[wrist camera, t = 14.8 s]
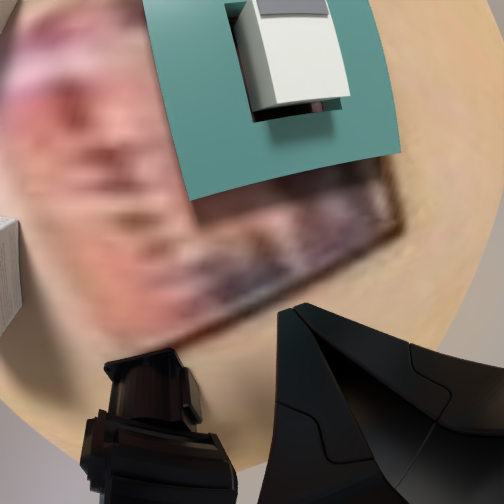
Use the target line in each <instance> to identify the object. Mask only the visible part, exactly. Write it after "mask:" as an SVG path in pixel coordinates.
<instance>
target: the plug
mask: <svg viewBox="0 0 504 504" xmlns="http://www.w3.org/2000/svg"><path fill="white" fill-rule="evenodd" d="M233 30H234V34H235V38H236V42H237V46H238V51H239V55H240V59H241V63H242V68H243V72H244V76H245V81H246V85H247V90H248V94H249V98H250V103H251V107H252V112H255V111H261V110H266V109H273V108H279V107H286V106H293V105H300V104H309V103H315V102H319V101H325V100H330V99H335V98H341V97H347V96H350V91H349V86H348V81H347V77H346V72H345V68H344V63H343V59H342V55H341V51H340V47H339V43H338V39H337V35H336V31H335V28H334V24H333V21H332V17H331V14H330V11H329V8H328V4H327V1H326V0H248V1H247V3H246V4H245V6H244V8H243V10H242V12H241V13H240V15H239V17H238V19H237V21H236V23H235V25H234V27H233Z"/></svg>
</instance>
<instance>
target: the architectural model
mask: <svg viewBox="0 0 504 504" xmlns="http://www.w3.org/2000/svg"><path fill="white" fill-rule="evenodd" d="M17 1H18V0H0V35H1V33H2V31H3V29H4V26H5V24H6V22H7V20H8V18H9V16H10V14H11V12H12V11H13V9H14V7H15V5H16V3H17Z"/></svg>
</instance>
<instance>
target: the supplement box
mask: <svg viewBox="0 0 504 504" xmlns="http://www.w3.org/2000/svg"><path fill="white" fill-rule="evenodd" d="M21 307H22V296H21V285H20V271H19V245H18V220H17V219H12V218H5V217H0V337H1V336H2V334H3V333H4V331H5V330H6V328H7V327H8V325H9V324H10V322H11V321H12V320H13V318H14V317H15V315H16V314H17V313H18V311H19V310H20V308H21Z"/></svg>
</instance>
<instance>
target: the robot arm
mask: <svg viewBox="0 0 504 504" xmlns="http://www.w3.org/2000/svg"><path fill="white" fill-rule="evenodd" d="M167 354H172V355H167ZM110 368H111V369H110ZM104 371H105V372H106V374H107V375H108V377H109V378H110V379H111V381H112V388H111V395H110V401H109V408H108V413H107V411H104V410H101V409H99V413H98V417H95V418H93V419H88V420H87V423H86V429H85V435H84V441H83V447H82V452H81V458H80V466H81V468H82V469H83V470H84V471H85V473H86V474H87V480H89V481H90V491H93V492H97V493H100V504H236V499H237V495H238V481H237V476H236V472H235V469H234V467H233V465H232V463H231V461H230V460H229V458H228V456H227V454H226V452H225V450H224V448H223V446H222V444H221V442H220V440H219V438H218V436H217V434H213V433H208V434H205V433H198V432H197V426H196V424H201V422H202V414H201V407H200V400H199V393H198V386H197V384H196V382H195V380H194V379H193V377H192V375H191V373H190V371H189V369H188V368H186V367H183V365H182V363H181V362H180V360H179V358H178V356H177V354H176V352H175V350H174V349H172V348H166V349H162V350H158V351H154V352H150V353H146V354H142V355H137V356H133V357H129V358H125V359H120V360H116V361H111V362H107V363H105V364H104ZM275 403H276V404H275V415H274V427H273V437H272V443H271V448H270V454H269V459H268V464H267V467H266V471H265V475H264V480H263V483H262V488H261V491H260V495H259V499H258V503H257V504H504V368H500V367H496V366H491V365H486V364H482V363H477V362H473V361H469V360H464V359H460V358H456V357H452V356H449V355H445V354H441V353H439V352H436V351H433V350H430V349H427V348H424V347H421V346H418V345H415V344H413V343H410V344H409V342H407V341H404V340H402V339H399V338H396V337H394V336H391V335H388V334H386V333H383V332H381V331H378V330H375V329H373V328H370V327H368V326H365V325H362V324H360V323H357V322H355V321H352V320H350V319H347V318H344V317H342V316H339V315H337V314H334V313H332V312H329V311H327V310H324V309H322V308H319V307H317V306H314V305H312V304H309V303H303V304H300V305H297V306H294V307H293V309H292V308H288V309H285V310H282V311H279V312H278V314H277V358H276V392H275Z"/></svg>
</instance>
